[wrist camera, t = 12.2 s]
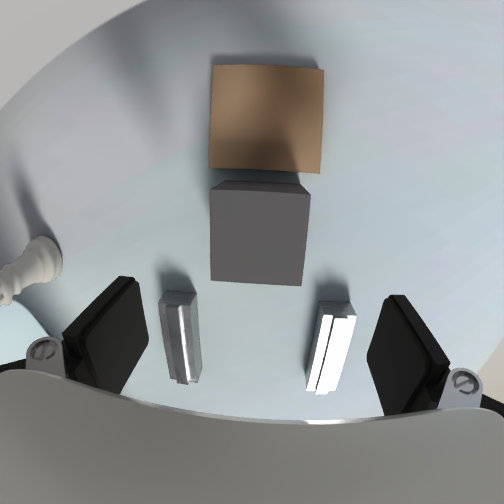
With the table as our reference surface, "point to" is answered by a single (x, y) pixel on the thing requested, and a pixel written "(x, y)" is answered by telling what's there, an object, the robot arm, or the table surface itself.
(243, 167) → the pad
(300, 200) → the dark gray cube
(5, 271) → the rook chess piece
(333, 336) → the metal bars
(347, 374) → the table surface
